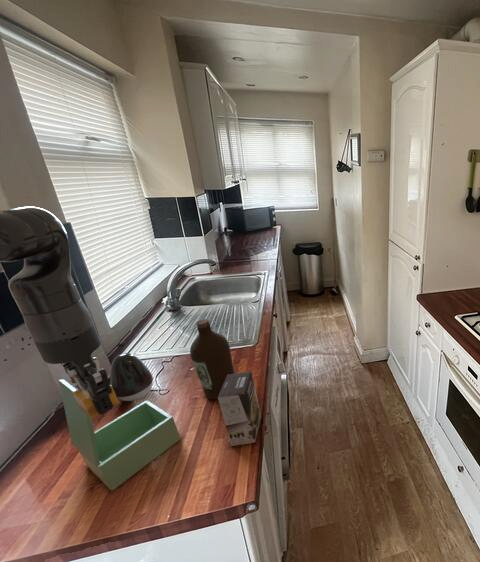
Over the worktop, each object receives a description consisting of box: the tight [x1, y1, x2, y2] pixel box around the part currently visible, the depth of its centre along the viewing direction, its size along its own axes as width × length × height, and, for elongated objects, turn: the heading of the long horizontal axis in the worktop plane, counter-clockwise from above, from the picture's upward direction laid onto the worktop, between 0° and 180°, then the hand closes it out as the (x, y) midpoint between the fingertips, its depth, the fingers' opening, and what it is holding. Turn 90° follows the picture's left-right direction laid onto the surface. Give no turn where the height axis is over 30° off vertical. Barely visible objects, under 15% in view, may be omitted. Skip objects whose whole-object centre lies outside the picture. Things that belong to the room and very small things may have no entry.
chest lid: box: [58, 378, 100, 467], centre depth 67 cm, size 16×13×1 cm
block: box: [73, 384, 120, 420], centre depth 58 cm, size 4×4×4 cm
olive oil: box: [189, 318, 235, 401], centre depth 94 cm, size 11×11×25 cm
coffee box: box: [217, 370, 262, 447], centre depth 80 cm, size 9×6×16 cm
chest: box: [78, 400, 182, 492], centre depth 77 cm, size 16×13×8 cm
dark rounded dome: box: [109, 352, 154, 402], centre depth 95 cm, size 10×10×15 cm
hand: (100, 405), depth 58 cm, fingers closed on block, 4 cm apart
